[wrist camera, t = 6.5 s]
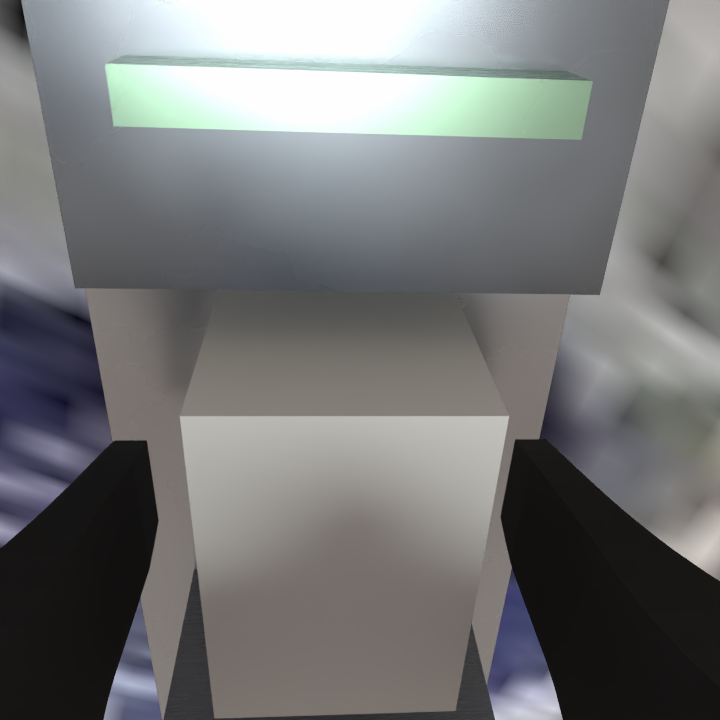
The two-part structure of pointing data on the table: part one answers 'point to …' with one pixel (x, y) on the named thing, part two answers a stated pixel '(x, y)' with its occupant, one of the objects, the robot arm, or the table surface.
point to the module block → (339, 499)
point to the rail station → (331, 209)
